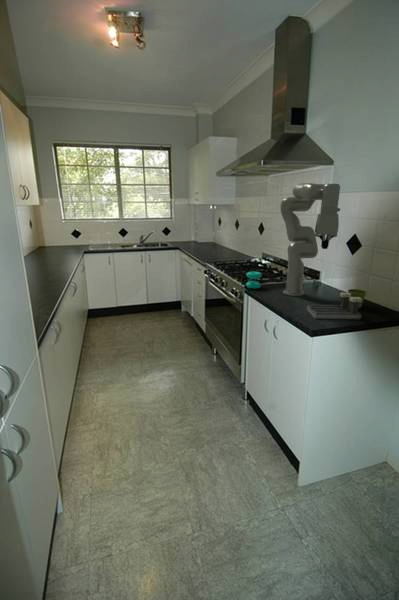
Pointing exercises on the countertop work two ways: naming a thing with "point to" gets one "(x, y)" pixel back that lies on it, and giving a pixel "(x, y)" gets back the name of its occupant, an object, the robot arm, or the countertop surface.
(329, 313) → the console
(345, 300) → the white striped slider handle
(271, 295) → the countertop surface
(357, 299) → the fader knob
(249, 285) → the teal spool
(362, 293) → the plant pot
